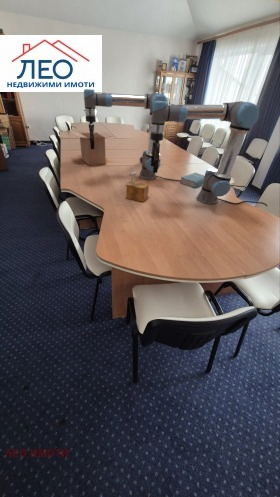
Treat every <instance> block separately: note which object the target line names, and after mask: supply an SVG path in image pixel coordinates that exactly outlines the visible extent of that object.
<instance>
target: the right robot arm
mask: <svg viewBox="0 0 280 497" xmlns="http://www.w3.org/2000/svg"><path fill="white" fill-rule="evenodd" d="M259 116H260V110H259V107H258V106H257V105H256V104H255V103H253V102H250V101H242V100H241V101H239V100H238V101H233V102H223V103H222V104H174V103H170V104H168V106H167V102H166V101H154V103H153V110H152V126H151V125H150V126H149V128H150V127H151V131H152V132H151V138H150V139H151V140H153V145H152V152H151V154H152V157H151V166H153V173H155V174H158V170H159V169H158V162H159V159H160V158H159V154H160V152H161V151H160V149H161V148H160V147H161V144H160V143H159V141H160V142H161V141H163V140H164V132H165V123H166V122H172V123H185V122H187V120H219V121H220V122H226V123H227V122H228V123H230V124H229V126H228V127H229V130H230V132H229V135H228V138H227V141H226V144H225V147H224V150H223V153H222V155H221V157H220V158H221V159H220V161H219V164H218V167H217V168H215V169H214V168H209V169H206V170H205V173H204V176H205V177H204V181H203V185H201V189H200V191H199V192H198V194H197V197H196V199H197V201H199V202H200V203H202V204H207V205H214V204H217V203H218V201H222V202H225V203H228V204H231V205H240V204H242V203H251V204H262V205H264V206H265V207H268V204H267V203H265V202H263V201H252V200H242V201H240V202H231V201H228V200H225V199H221V197H224V196H226V195H227V194H228V193H229V192H230V191H231V187H232V186H230V185H231V183H230V182H231V180H232V174H231V173H232V170H233V168H234V165H235V163H236V160H237V157H238V155H239V152H240V149H241V146H242V144H243V142H244V139H245V137H246V134H247V133H249V132H250V130H251V128H252V127H253V126H254V125H255V124H256V123H257V121H258V120H259ZM156 159H157V160H156Z"/></svg>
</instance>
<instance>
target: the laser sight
mask: <svg viewBox="0 0 280 497" xmlns="http://www.w3.org/2000/svg"><path fill="white" fill-rule="evenodd" d="M142 159H143V156H140V158H139V163H141V164H142ZM161 160H162V159H160V158H159V162H160V163H161Z"/></svg>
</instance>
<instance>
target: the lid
mask: <svg viewBox="0 0 280 497" xmlns="http://www.w3.org/2000/svg"><path fill="white" fill-rule="evenodd" d="M136 174H137V171H133V172H131V173H130V181H129V182H127V183H126V184H125V187H127V186H129V187H134V188H139V189H145V188H146V187H147V186H148V185H149V186H150V184H149V183H145V182H139V181H136Z"/></svg>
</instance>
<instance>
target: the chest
mask: <svg viewBox="0 0 280 497" xmlns="http://www.w3.org/2000/svg"><path fill="white" fill-rule="evenodd" d="M149 187H150V184H149V185H148V186H147V187H146V188H145V189H139V188H134V187H129V186H126V199H129V200H133V201H138V202H141V203H144V202H145V201H146V200H147V199H148V197H149Z"/></svg>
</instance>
